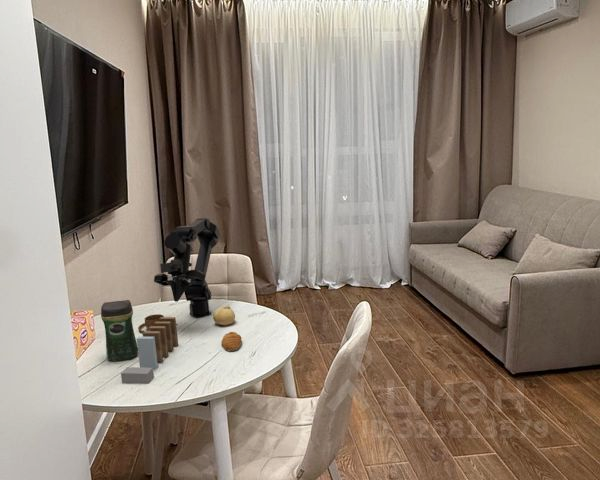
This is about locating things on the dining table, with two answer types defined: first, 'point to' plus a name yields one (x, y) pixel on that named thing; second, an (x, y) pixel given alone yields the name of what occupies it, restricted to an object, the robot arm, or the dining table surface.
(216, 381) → the dining table surface
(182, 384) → the dining table surface
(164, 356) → the domino
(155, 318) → the place setting
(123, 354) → the coffee jar
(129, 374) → the stop block
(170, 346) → the domino
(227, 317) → the onion
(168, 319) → the domino
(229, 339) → the pastry
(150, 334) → the domino
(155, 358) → the domino
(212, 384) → the dining table surface
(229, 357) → the dining table surface
